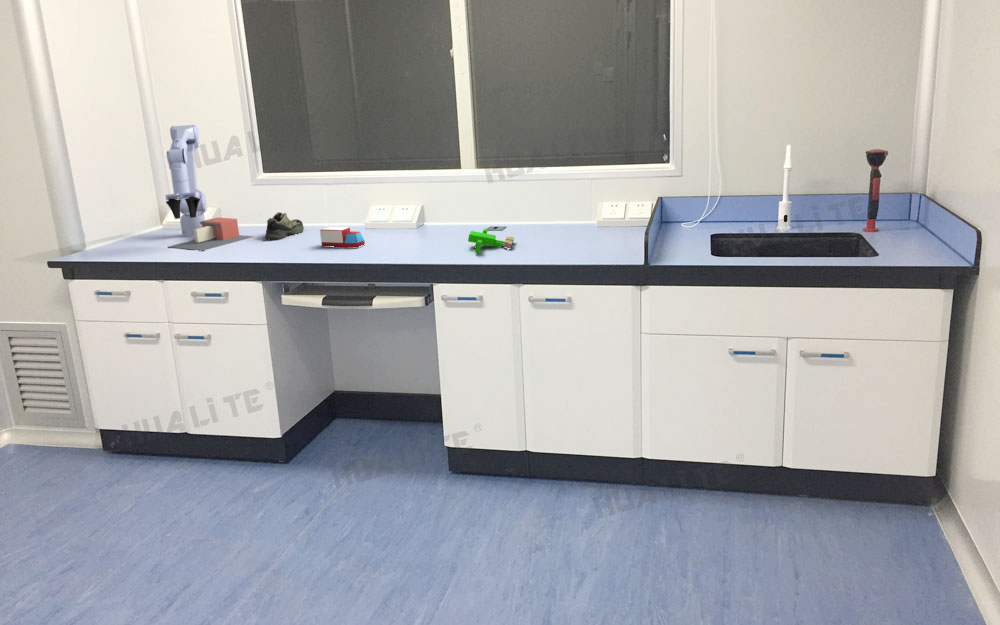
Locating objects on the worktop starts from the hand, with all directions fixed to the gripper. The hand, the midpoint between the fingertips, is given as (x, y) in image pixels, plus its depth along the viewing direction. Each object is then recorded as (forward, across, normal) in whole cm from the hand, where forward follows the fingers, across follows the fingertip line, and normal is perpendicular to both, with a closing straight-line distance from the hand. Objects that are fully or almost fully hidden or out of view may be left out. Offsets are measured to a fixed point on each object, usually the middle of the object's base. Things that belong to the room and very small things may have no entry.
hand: (185, 218), depth 307 cm
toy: (+19, +115, +20) cm, 118 cm away
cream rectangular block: (+9, +1, +10) cm, 13 cm away
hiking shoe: (+10, +25, +26) cm, 37 cm away
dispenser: (+8, +2, +16) cm, 18 cm away
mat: (+10, +4, +8) cm, 14 cm away
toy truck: (+15, +60, +12) cm, 63 cm away
